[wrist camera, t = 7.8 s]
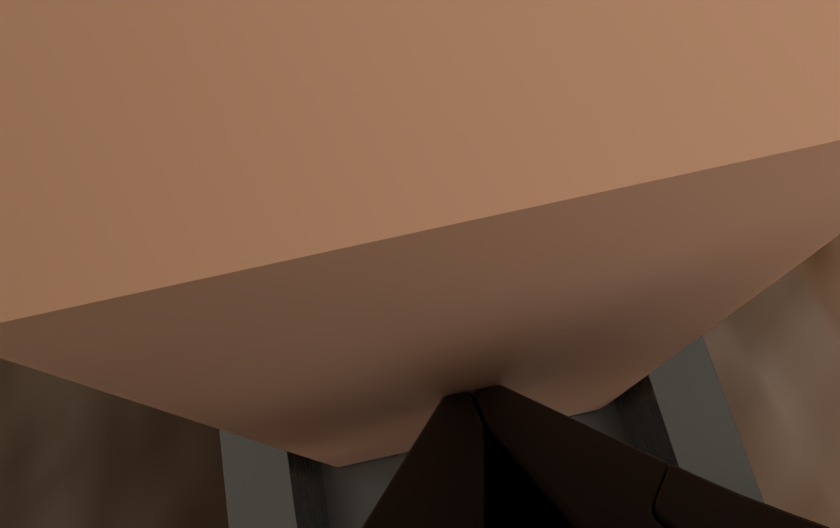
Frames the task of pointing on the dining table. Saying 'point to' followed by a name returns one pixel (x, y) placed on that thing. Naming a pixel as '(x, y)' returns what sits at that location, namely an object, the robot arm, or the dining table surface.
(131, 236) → the terracotta block
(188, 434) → the dining table surface
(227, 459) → the chute
